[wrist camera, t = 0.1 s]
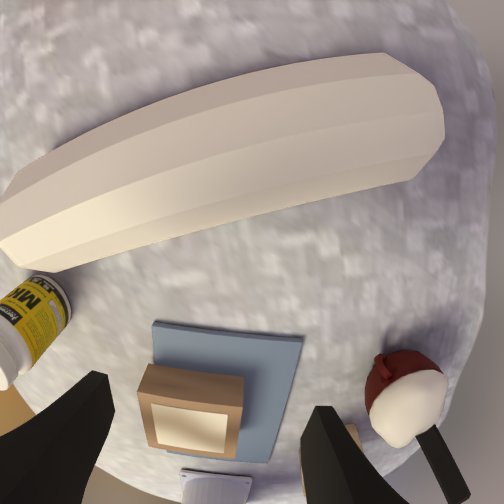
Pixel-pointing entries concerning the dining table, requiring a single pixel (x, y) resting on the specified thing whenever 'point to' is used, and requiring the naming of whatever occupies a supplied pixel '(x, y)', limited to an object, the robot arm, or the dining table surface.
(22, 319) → the supplement bottle
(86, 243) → the crystal
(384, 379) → the cocoa
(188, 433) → the walnut base block
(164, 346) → the board
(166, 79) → the dining table surface
